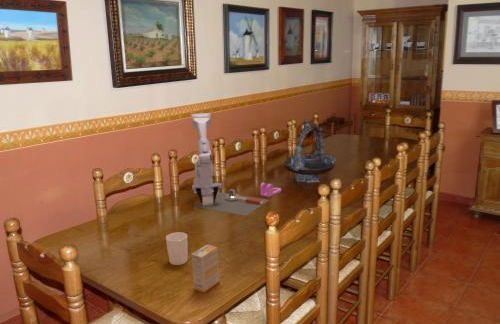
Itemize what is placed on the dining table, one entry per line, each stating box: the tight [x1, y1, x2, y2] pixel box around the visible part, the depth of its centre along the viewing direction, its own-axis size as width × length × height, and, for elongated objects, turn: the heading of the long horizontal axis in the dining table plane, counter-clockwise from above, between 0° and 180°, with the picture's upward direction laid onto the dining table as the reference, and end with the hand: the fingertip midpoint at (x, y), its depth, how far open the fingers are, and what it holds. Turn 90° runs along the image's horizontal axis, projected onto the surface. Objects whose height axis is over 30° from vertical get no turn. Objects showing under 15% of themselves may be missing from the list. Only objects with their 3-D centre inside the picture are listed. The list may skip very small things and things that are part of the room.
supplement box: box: [190, 244, 220, 293], centre depth 149 cm, size 8×5×13 cm, turn 145°
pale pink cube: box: [202, 192, 214, 207], centre depth 226 cm, size 5×5×5 cm
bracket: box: [259, 182, 282, 198], centre depth 241 cm, size 13×6×7 cm, turn 141°
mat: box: [194, 191, 270, 216], centre depth 228 cm, size 30×24×1 cm
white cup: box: [165, 231, 189, 266], centre depth 168 cm, size 8×8×10 cm
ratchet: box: [226, 188, 264, 206], centre depth 229 cm, size 21×7×5 cm, turn 60°
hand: (207, 201), depth 227 cm, fingers open, 6 cm apart
